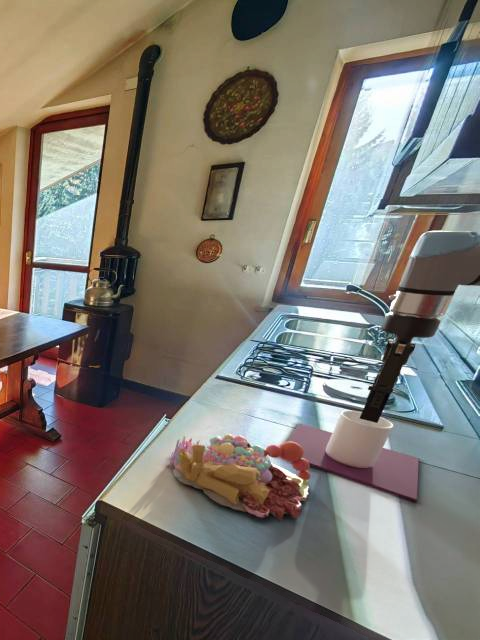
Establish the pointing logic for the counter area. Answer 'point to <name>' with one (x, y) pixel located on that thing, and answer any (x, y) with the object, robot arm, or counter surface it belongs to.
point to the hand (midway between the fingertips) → (371, 410)
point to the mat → (386, 474)
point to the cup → (357, 440)
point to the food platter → (244, 474)
